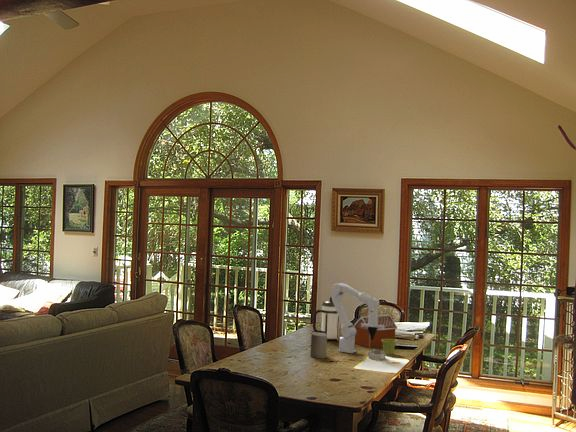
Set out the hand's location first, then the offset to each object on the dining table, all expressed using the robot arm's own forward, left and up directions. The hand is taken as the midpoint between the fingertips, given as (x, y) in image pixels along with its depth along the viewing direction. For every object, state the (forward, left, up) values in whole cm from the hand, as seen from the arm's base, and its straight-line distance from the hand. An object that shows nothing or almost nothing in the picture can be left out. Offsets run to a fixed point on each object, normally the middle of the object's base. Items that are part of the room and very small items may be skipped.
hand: (372, 339), depth 376 cm
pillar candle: (-27, -22, -10) cm, 36 cm away
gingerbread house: (-9, +35, -10) cm, 38 cm away
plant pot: (+8, +10, -10) cm, 16 cm away
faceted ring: (+5, -6, -10) cm, 13 cm away
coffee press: (-41, +31, -10) cm, 52 cm away
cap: (+5, -6, -9) cm, 12 cm away
